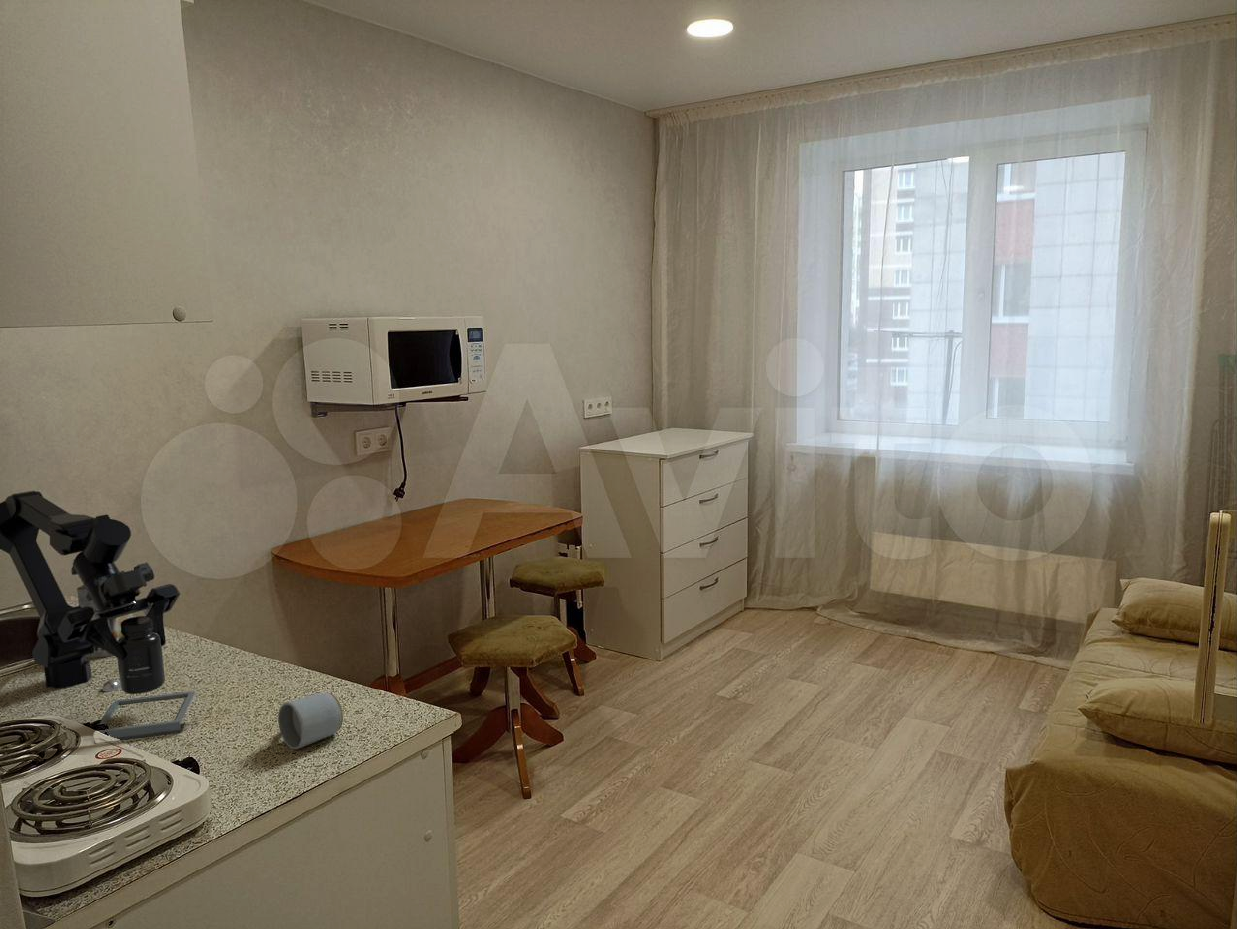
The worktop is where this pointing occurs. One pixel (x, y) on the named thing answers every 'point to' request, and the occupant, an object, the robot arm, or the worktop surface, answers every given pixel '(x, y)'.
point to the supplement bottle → (140, 656)
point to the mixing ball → (111, 686)
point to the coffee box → (113, 623)
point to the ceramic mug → (309, 719)
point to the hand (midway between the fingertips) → (143, 651)
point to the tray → (152, 728)
